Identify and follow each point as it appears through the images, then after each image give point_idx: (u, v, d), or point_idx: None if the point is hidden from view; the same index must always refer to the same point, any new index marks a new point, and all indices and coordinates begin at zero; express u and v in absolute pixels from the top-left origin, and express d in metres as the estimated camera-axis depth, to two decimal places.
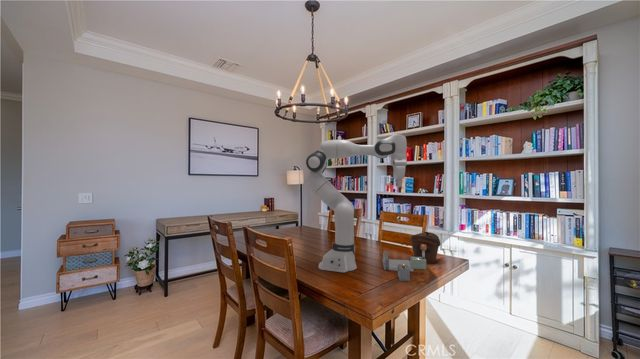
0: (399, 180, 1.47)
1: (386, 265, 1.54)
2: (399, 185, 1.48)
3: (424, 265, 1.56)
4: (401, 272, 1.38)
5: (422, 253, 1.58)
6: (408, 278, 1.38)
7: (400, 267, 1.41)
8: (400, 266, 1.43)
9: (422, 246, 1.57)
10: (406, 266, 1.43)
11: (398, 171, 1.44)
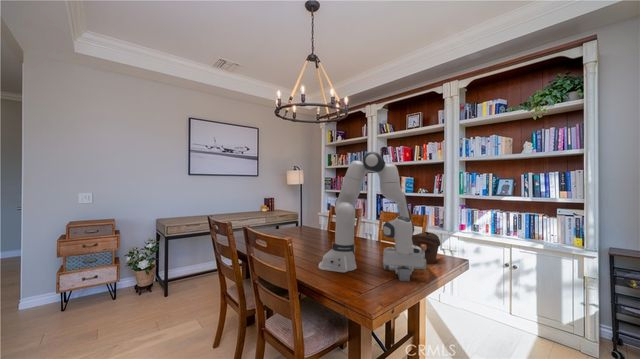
0: None
1: (386, 265, 1.54)
2: None
3: (424, 265, 1.56)
4: (401, 272, 1.38)
5: (422, 253, 1.58)
6: (408, 278, 1.38)
7: (400, 267, 1.41)
8: (400, 266, 1.43)
9: (422, 246, 1.57)
10: (406, 266, 1.43)
11: (423, 259, 1.39)
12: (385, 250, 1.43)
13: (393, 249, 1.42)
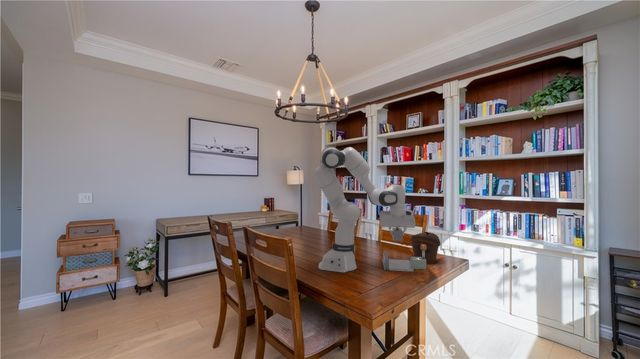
0: None
1: (386, 265, 1.54)
2: None
3: (424, 265, 1.56)
4: (395, 233, 1.56)
5: (422, 253, 1.58)
6: (401, 238, 1.56)
7: (394, 229, 1.59)
8: (394, 229, 1.61)
9: (422, 246, 1.57)
10: (399, 229, 1.61)
11: None
12: (381, 213, 1.61)
13: (388, 212, 1.60)
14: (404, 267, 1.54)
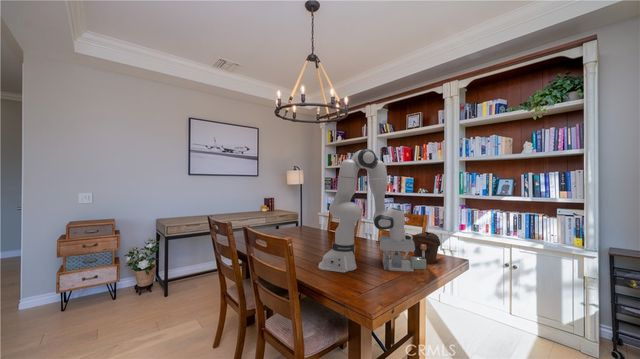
0: (407, 252, 1.60)
1: (386, 265, 1.54)
2: None
3: (424, 265, 1.56)
4: (394, 258, 1.58)
5: (422, 253, 1.58)
6: (400, 263, 1.57)
7: (393, 253, 1.60)
8: (393, 253, 1.62)
9: (422, 246, 1.57)
10: (399, 253, 1.62)
11: (414, 245, 1.58)
12: (380, 237, 1.62)
13: (387, 236, 1.61)
14: (404, 267, 1.54)
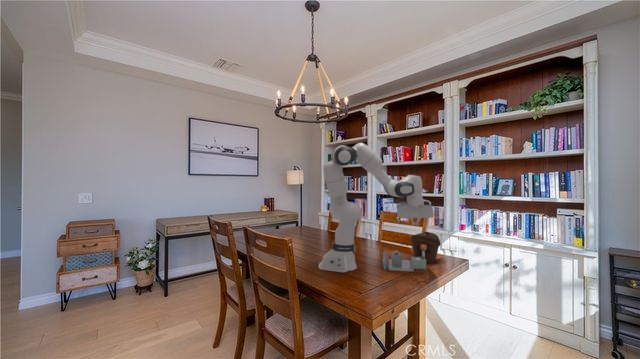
0: None
1: (386, 265, 1.54)
2: (417, 223, 1.59)
3: (424, 265, 1.56)
4: (394, 258, 1.58)
5: (422, 253, 1.58)
6: (400, 263, 1.57)
7: (393, 253, 1.60)
8: (393, 253, 1.62)
9: (422, 246, 1.57)
10: (399, 253, 1.62)
11: None
12: (398, 205, 1.60)
13: (405, 203, 1.59)
14: (404, 267, 1.54)
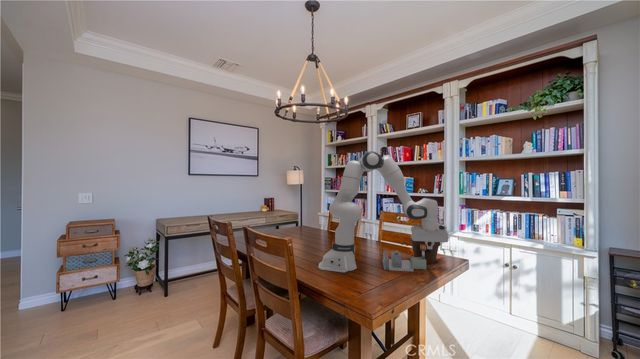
0: None
1: (386, 265, 1.54)
2: None
3: (424, 265, 1.56)
4: (394, 258, 1.58)
5: (422, 253, 1.58)
6: (400, 263, 1.57)
7: (393, 253, 1.60)
8: (393, 253, 1.62)
9: (422, 246, 1.57)
10: (399, 253, 1.62)
11: None
12: (413, 227, 1.59)
13: (420, 226, 1.58)
14: (404, 267, 1.54)
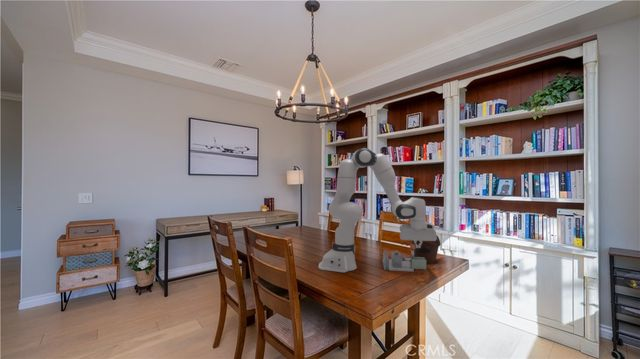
0: None
1: (386, 265, 1.54)
2: None
3: (424, 265, 1.56)
4: (394, 258, 1.58)
5: None
6: (400, 263, 1.57)
7: (393, 253, 1.60)
8: (393, 253, 1.62)
9: (411, 246, 1.58)
10: (399, 253, 1.62)
11: None
12: (401, 227, 1.60)
13: (408, 226, 1.59)
14: (404, 267, 1.54)
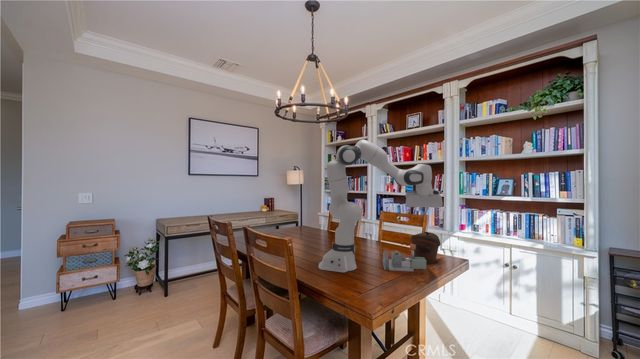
0: None
1: (386, 265, 1.54)
2: None
3: (424, 265, 1.56)
4: (394, 258, 1.58)
5: None
6: (400, 263, 1.57)
7: (393, 253, 1.60)
8: (393, 253, 1.62)
9: (411, 246, 1.58)
10: (399, 253, 1.62)
11: None
12: (407, 194, 1.59)
13: (414, 192, 1.59)
14: (404, 267, 1.54)
